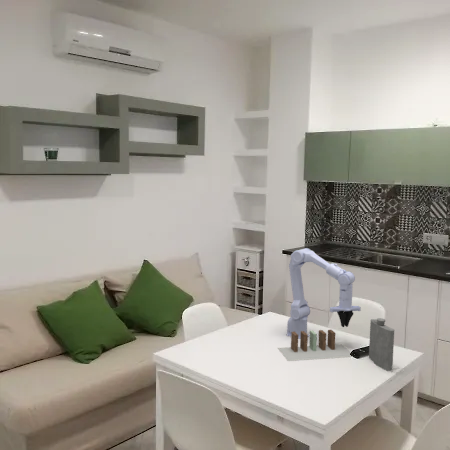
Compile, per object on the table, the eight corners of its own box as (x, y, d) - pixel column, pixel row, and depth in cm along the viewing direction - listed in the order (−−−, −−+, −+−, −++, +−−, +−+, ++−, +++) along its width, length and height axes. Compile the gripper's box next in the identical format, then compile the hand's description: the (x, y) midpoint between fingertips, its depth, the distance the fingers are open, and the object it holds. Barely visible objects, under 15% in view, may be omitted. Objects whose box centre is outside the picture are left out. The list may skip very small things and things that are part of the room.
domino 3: (322, 350, 235) (323, 333, 234) (318, 346, 240) (318, 330, 239) (325, 350, 235) (326, 333, 234) (321, 346, 240) (322, 330, 239)
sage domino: (313, 351, 234) (313, 334, 233) (309, 347, 239) (309, 330, 238) (316, 350, 235) (316, 334, 234) (312, 346, 239) (313, 330, 238)
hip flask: (393, 370, 214) (396, 324, 211) (385, 371, 213) (387, 325, 210) (373, 356, 229) (375, 313, 227) (365, 357, 228) (367, 314, 226)
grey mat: (288, 361, 222) (288, 361, 222) (277, 348, 238) (277, 348, 238) (356, 357, 228) (356, 356, 228) (341, 344, 244) (341, 344, 244)
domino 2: (303, 351, 233) (304, 334, 232) (300, 347, 238) (300, 331, 237) (307, 351, 234) (307, 334, 233) (303, 347, 238) (303, 331, 237)
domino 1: (294, 352, 232) (294, 335, 231) (290, 348, 237) (291, 331, 236) (297, 352, 233) (298, 335, 232) (294, 348, 238) (294, 331, 237)
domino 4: (331, 349, 236) (332, 333, 235) (327, 346, 241) (327, 329, 240) (334, 349, 236) (335, 333, 235) (330, 345, 241) (331, 329, 240)
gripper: (334, 300, 232) (333, 329, 233) (364, 299, 234) (362, 328, 236) (328, 296, 238) (327, 325, 240) (357, 295, 241) (356, 323, 243)
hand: (344, 326), depth 238 cm, fingers closed
